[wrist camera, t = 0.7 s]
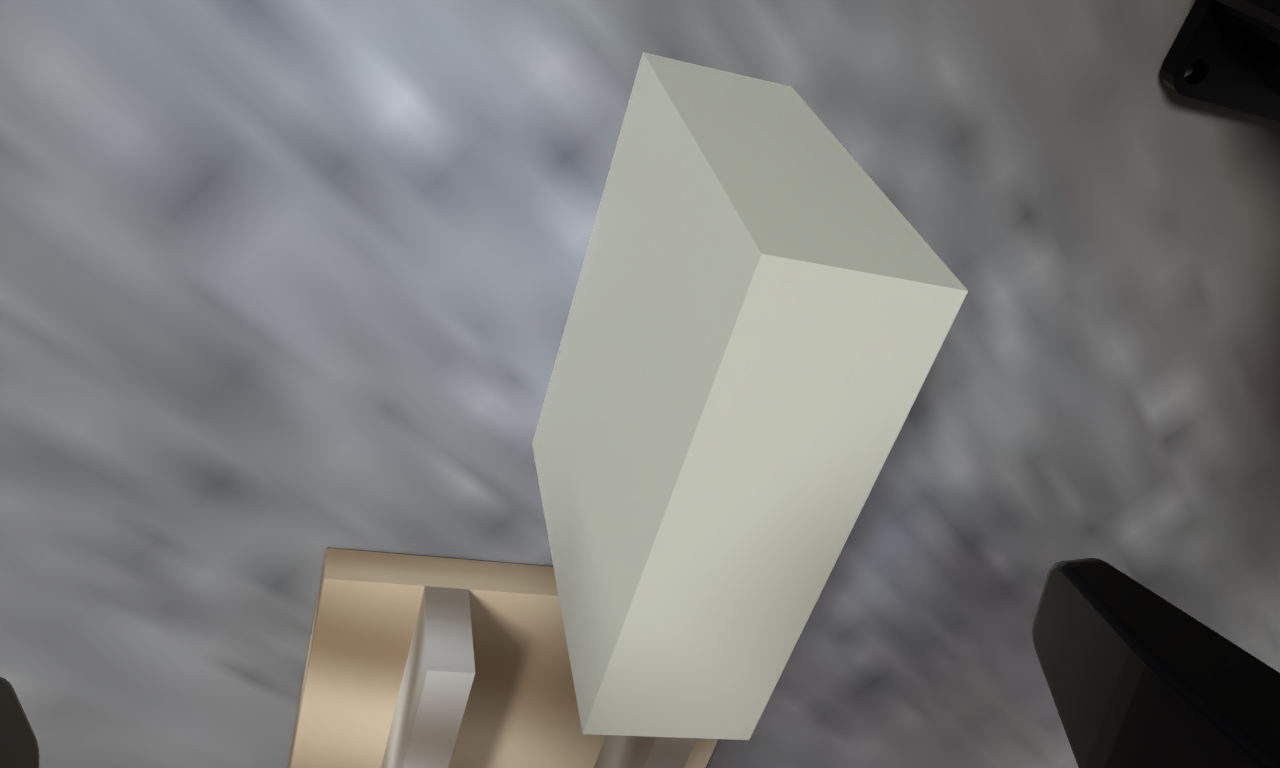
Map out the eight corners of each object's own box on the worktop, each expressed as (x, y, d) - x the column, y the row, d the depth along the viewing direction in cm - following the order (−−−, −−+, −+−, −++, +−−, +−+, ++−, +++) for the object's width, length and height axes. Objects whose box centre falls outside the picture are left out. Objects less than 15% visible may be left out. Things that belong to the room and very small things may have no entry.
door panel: (642, 52, 20) (761, 253, 14) (790, 86, 21) (968, 291, 15) (532, 443, 25) (582, 734, 18) (658, 457, 26) (749, 740, 19)
